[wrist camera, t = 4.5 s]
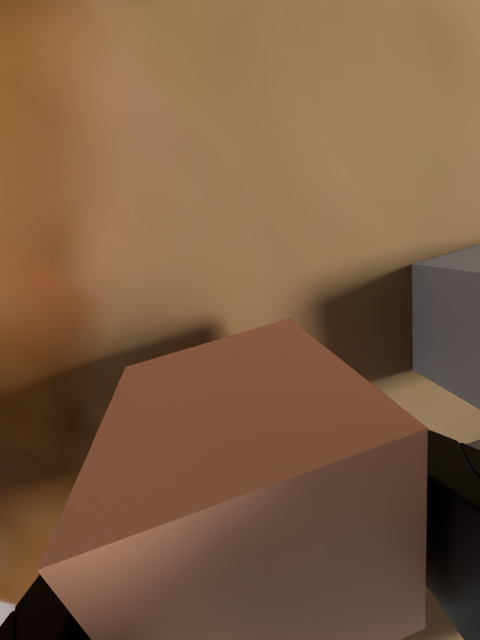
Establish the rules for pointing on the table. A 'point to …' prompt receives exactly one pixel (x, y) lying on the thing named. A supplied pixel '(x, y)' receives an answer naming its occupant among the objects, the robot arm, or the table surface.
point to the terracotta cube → (247, 501)
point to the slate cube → (448, 322)
